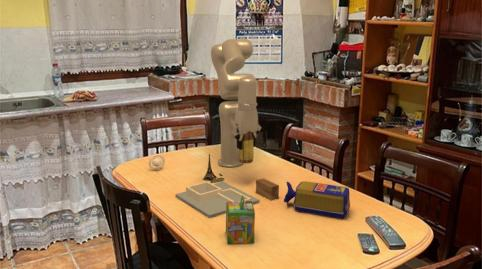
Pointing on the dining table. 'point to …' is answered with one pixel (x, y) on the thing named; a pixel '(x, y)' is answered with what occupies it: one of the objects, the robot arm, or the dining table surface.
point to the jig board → (213, 197)
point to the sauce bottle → (246, 148)
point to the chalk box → (240, 222)
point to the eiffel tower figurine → (211, 174)
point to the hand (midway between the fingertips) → (246, 146)
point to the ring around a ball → (156, 162)
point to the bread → (320, 199)
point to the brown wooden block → (267, 189)
